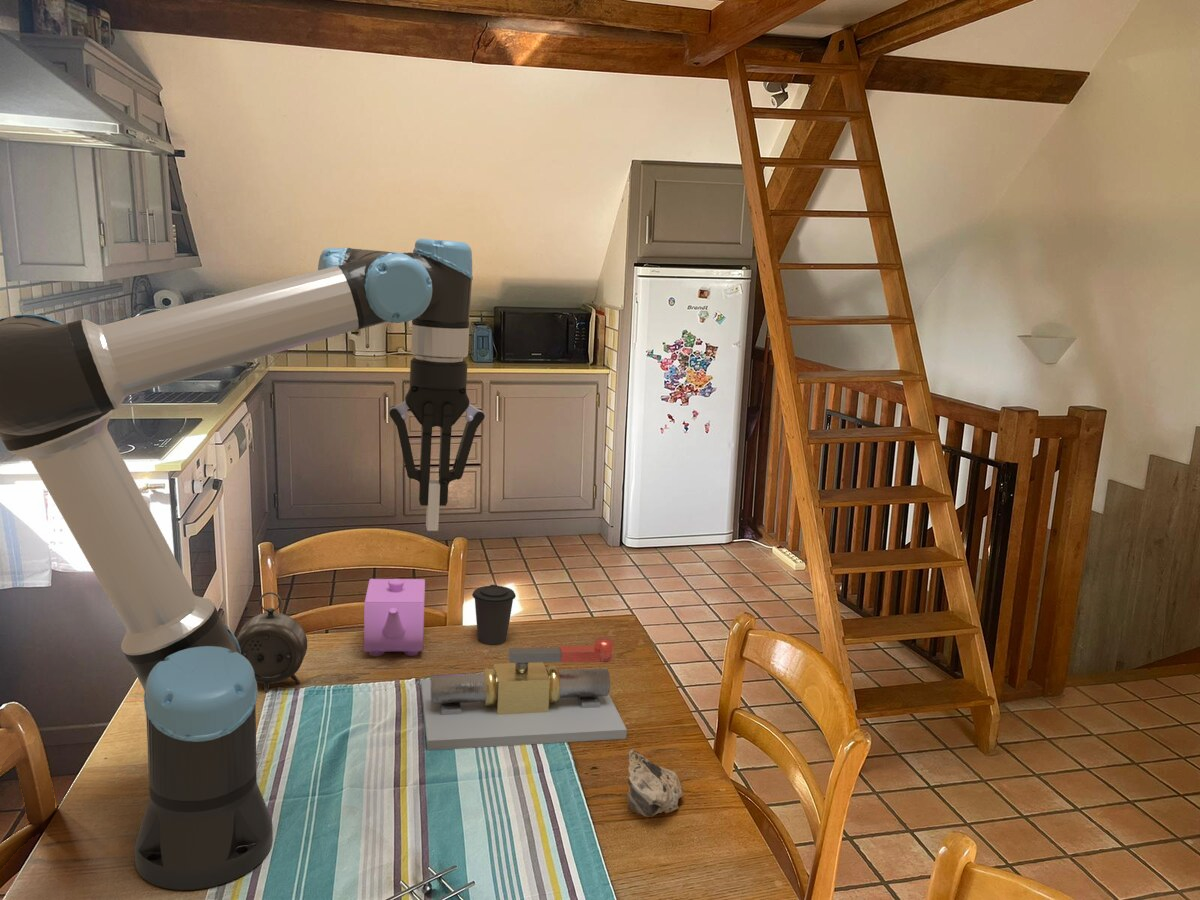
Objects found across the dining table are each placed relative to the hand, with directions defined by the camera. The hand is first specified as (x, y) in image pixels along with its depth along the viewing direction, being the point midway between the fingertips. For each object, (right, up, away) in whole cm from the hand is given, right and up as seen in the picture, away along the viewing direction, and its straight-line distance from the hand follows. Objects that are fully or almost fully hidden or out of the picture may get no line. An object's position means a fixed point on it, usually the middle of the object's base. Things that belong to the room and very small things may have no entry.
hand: (432, 527), depth 132 cm
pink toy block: (-14, -25, +40) cm, 50 cm away
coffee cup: (+3, -25, +47) cm, 54 cm away
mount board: (+10, -31, +20) cm, 38 cm away
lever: (+17, -24, +20) cm, 35 cm away
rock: (+31, -38, -3) cm, 49 cm away
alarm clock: (-30, -28, +23) cm, 47 cm away
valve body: (+11, -30, +20) cm, 37 cm away
